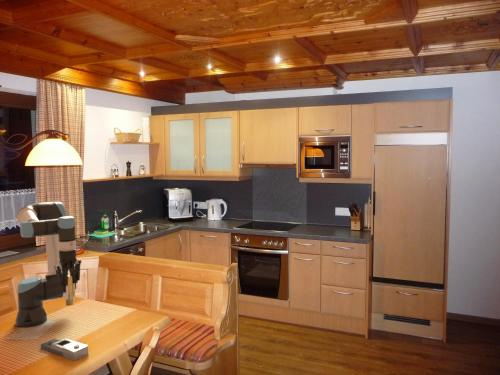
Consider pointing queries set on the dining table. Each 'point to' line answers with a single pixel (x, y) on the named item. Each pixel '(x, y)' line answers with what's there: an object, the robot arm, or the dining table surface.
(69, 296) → the brass pin
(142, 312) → the dining table surface
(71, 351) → the riveted square sleeve
